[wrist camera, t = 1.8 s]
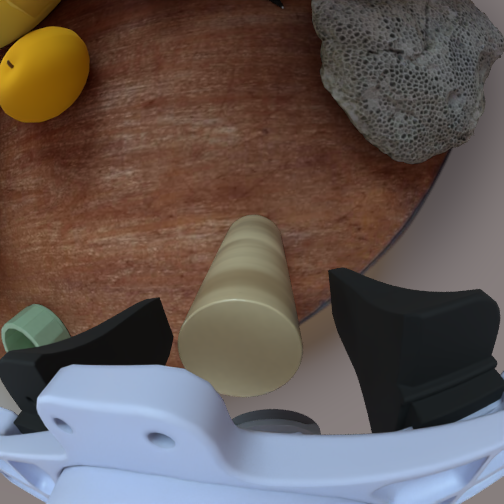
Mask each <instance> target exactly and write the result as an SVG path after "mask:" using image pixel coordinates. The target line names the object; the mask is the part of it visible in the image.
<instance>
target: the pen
mask: <svg viewBox="0 0 504 504" xmlns="http://www.w3.org/2000/svg"><path fill="white" fill-rule="evenodd" d="M270 1H271V2H273V3H275V4H276V5H278V6H279V7H281V8H283V9H284V7H283V4H282V3H281V1H280V0H270Z"/></svg>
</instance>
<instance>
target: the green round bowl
mask: <svg viewBox="0 0 504 504" xmlns="http://www.w3.org/2000/svg"><path fill="white" fill-rule="evenodd" d="M1 338H2V341H3V345H4V348H5V350H6V352H8V351H11V350H19V349H27V348H34V347H39V346H43V345H48V344H51V343H55V342H58V341H61V340H64V339H67V338H70V335H69V333H68V331H67V329H66V327H65V326H64V324H63V323H62V322H61V320H60V319H59V318H58V317H57V316H56V315H55V314H54V313H53V312H52V311H50V310H49V309H48V308H46V307H44V306H42V305H39V304H32V305H29V306H28V307H26V308H25V309H23V310H22V311H21V312H19V313H18V314H17V315H16V316H14V317H13V318H12V319H10V320H9V321H8V322H7V323H5V325H4V326H3V328H2V333H1Z"/></svg>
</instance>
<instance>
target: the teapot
mask: <svg viewBox="0 0 504 504" xmlns="http://www.w3.org/2000/svg"><path fill="white" fill-rule="evenodd" d="M60 1H61V0H0V48H2V47H4V46H6V45H8V44H10V43H12V42H13V41H15V40H17V39H18V38H20V37H22V36H23V35H25V34H26V33H28V32H29V31H30V30H32V29H33V28H34V27H35V26H37V25H38V24H39V23H40V22H41V21H42V20H43V19H44V18H45V17H46V16H47V15H48V14H49V13H50V12H51V11H52V10H53V9H54V8H55V7H56V6H57V5H58V3H59V2H60Z"/></svg>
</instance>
